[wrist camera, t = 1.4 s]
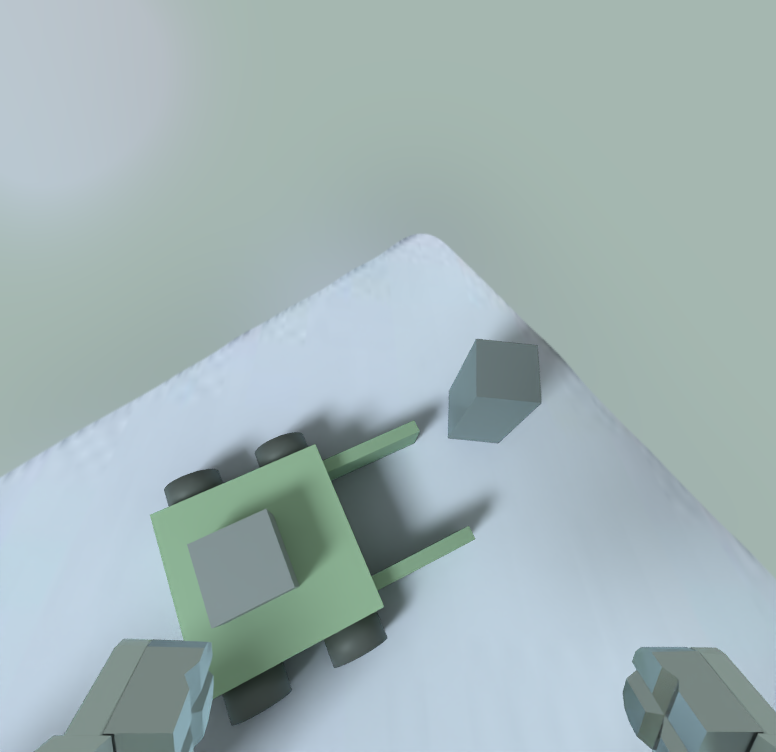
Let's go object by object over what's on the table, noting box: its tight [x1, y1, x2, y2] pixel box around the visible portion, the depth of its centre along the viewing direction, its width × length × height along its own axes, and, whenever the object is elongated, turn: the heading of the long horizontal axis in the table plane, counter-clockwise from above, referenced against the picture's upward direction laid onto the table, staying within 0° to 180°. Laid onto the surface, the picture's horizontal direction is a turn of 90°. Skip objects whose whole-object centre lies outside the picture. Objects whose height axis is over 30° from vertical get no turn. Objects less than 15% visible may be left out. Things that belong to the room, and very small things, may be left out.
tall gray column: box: [448, 339, 541, 443], centre depth 37 cm, size 4×4×10 cm
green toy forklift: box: [150, 421, 475, 726], centre depth 32 cm, size 16×20×8 cm
